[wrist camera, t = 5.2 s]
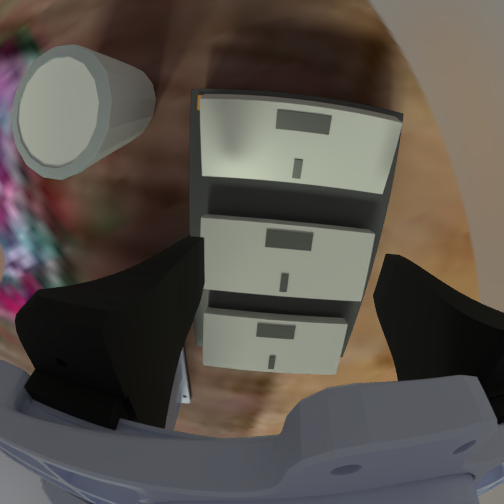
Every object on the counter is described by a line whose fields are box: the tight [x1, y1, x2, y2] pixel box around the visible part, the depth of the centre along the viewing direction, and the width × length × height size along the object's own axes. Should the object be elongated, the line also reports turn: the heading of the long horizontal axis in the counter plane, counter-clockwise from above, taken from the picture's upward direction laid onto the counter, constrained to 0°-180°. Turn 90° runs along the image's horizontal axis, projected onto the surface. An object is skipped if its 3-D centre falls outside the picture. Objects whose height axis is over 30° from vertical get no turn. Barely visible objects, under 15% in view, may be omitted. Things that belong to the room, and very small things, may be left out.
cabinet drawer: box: [200, 94, 402, 194], centre depth 13 cm, size 4×9×1 cm, turn 87°
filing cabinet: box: [189, 89, 403, 357], centre depth 19 cm, size 18×11×4 cm, turn 176°
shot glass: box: [12, 44, 156, 180], centre depth 14 cm, size 7×7×7 cm
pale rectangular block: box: [203, 307, 348, 375], centre depth 19 cm, size 4×9×1 cm, turn 86°
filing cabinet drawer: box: [200, 214, 375, 301], centre depth 16 cm, size 4×9×1 cm, turn 86°
